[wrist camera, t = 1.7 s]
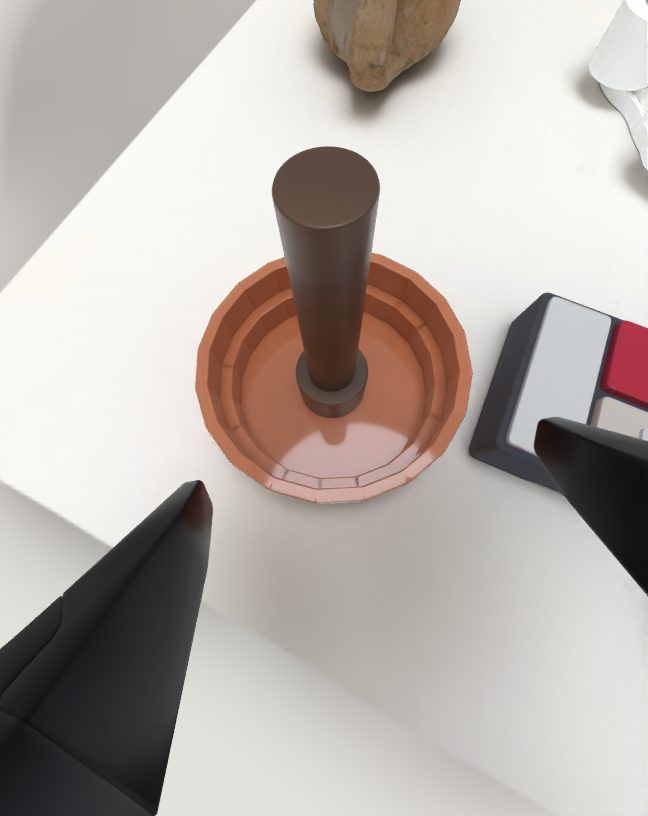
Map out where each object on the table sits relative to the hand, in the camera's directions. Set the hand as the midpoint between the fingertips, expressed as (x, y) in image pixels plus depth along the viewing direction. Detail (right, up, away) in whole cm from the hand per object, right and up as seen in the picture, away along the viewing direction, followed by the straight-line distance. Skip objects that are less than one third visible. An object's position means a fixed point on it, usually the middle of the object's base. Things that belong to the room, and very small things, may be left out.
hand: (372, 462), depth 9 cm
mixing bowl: (-1, +3, +15) cm, 15 cm away
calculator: (+17, 0, +13) cm, 22 cm away
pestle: (-1, +3, +14) cm, 14 cm away
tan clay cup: (+5, +36, +25) cm, 44 cm away
